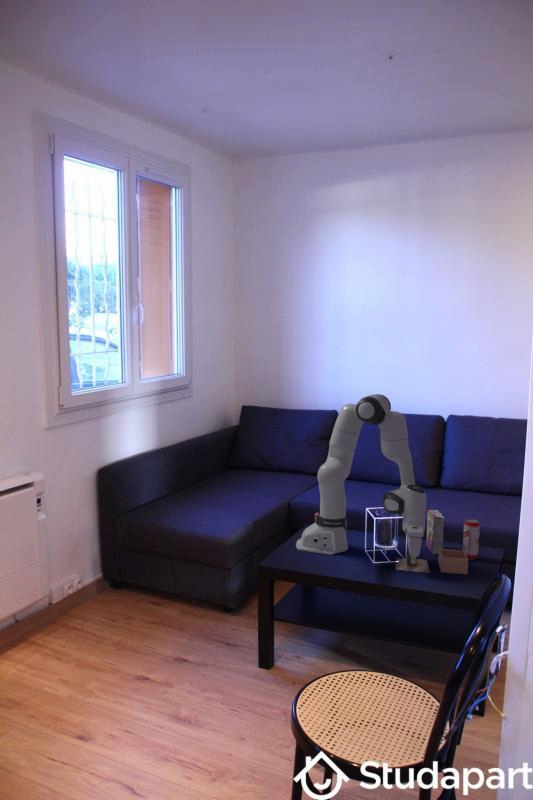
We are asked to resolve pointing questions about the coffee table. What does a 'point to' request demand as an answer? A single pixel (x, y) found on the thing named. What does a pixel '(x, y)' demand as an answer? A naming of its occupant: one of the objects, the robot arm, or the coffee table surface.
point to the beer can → (471, 538)
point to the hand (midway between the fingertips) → (411, 559)
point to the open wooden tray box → (453, 561)
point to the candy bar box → (435, 531)
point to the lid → (412, 565)
